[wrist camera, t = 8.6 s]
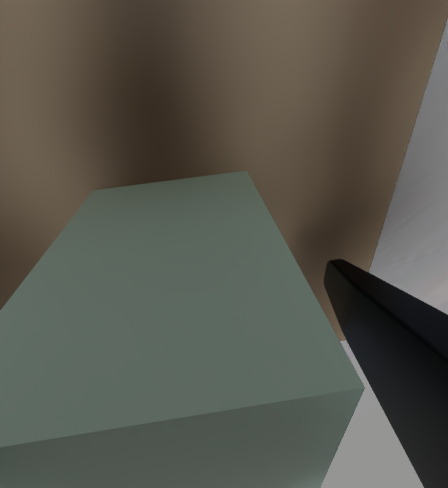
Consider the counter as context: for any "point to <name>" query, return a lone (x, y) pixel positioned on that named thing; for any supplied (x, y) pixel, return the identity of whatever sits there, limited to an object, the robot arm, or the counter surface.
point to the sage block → (171, 349)
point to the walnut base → (212, 112)
